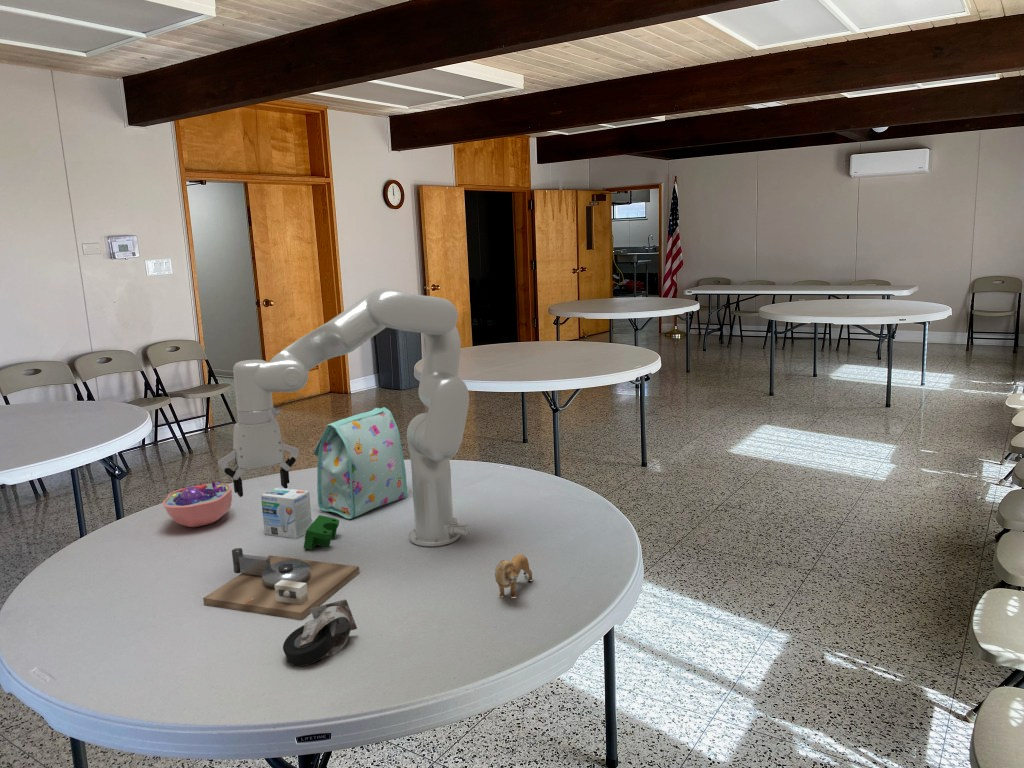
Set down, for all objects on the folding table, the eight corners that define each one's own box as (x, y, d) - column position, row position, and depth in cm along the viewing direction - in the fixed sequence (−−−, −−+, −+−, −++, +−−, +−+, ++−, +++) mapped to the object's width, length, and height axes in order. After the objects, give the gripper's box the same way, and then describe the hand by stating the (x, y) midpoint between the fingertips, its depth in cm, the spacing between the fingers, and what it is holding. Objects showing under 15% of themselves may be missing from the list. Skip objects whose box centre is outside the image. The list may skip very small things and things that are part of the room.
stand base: (359, 572, 167) (357, 551, 166) (301, 620, 146) (299, 596, 145) (270, 561, 175) (268, 541, 174) (203, 605, 154) (200, 582, 153)
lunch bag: (373, 488, 225) (367, 402, 220) (413, 497, 215) (407, 407, 210) (313, 512, 207) (304, 418, 202) (353, 523, 197) (345, 425, 192)
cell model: (249, 510, 210) (245, 472, 208) (209, 537, 191) (204, 496, 189) (195, 508, 213) (190, 471, 211) (150, 535, 194) (144, 494, 192)
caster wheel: (287, 681, 130) (297, 642, 140) (352, 664, 131) (357, 626, 140) (273, 650, 128) (285, 613, 138) (339, 633, 128) (346, 597, 138)
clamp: (325, 563, 182) (326, 540, 178) (303, 559, 182) (303, 535, 178) (339, 531, 191) (341, 508, 187) (318, 526, 191) (319, 503, 187)
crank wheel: (319, 571, 164) (317, 549, 163) (292, 591, 155) (290, 568, 154) (250, 562, 170) (247, 540, 169) (220, 581, 161) (217, 558, 160)
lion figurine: (516, 608, 148) (514, 566, 146) (491, 605, 150) (489, 563, 148) (536, 576, 162) (534, 537, 160) (512, 574, 163) (511, 535, 162)
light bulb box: (263, 534, 192) (259, 494, 190) (280, 525, 198) (276, 486, 196) (297, 539, 188) (293, 498, 186) (313, 529, 194) (310, 490, 192)
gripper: (291, 408, 170) (296, 479, 173) (211, 418, 161) (218, 493, 165) (299, 414, 164) (305, 488, 167) (217, 425, 155) (225, 503, 158)
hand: (262, 490), depth 166 cm, fingers open, 9 cm apart
